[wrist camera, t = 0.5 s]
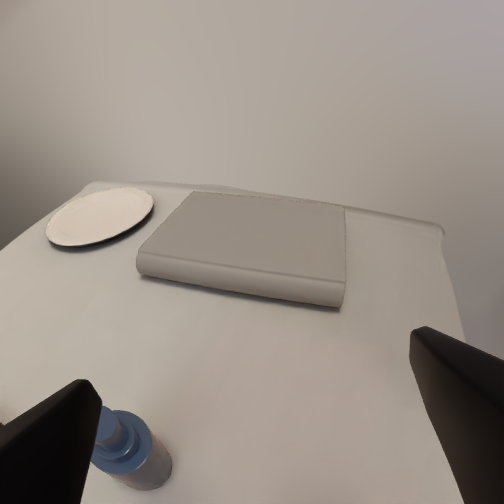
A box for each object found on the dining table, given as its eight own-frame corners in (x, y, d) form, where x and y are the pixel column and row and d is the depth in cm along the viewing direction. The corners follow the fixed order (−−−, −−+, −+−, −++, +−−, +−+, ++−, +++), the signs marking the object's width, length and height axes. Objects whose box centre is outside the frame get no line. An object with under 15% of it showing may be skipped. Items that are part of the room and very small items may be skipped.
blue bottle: (164, 497, 16) (122, 472, 11) (108, 479, 16) (51, 442, 12) (177, 445, 20) (146, 398, 15) (123, 431, 20) (79, 379, 15)
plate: (34, 230, 47) (31, 223, 46) (115, 187, 61) (113, 180, 60) (77, 270, 38) (74, 260, 37) (178, 208, 52) (177, 199, 51)
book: (192, 191, 49) (344, 207, 44) (195, 211, 51) (341, 229, 46) (132, 255, 34) (346, 288, 29) (139, 280, 36) (339, 315, 32)
